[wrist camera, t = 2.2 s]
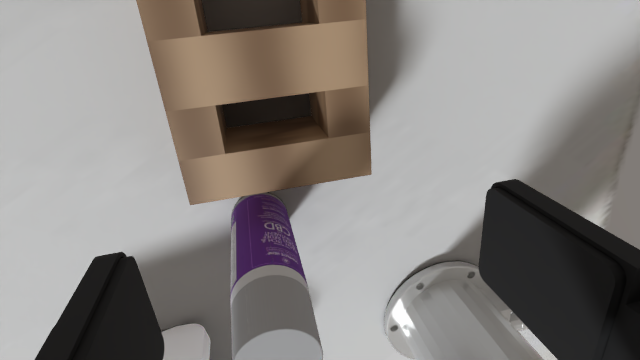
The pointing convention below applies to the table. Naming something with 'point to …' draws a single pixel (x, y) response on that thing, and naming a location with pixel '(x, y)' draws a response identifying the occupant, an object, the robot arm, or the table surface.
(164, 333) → the cable organizer
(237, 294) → the container
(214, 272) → the table surface
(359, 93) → the socket block
